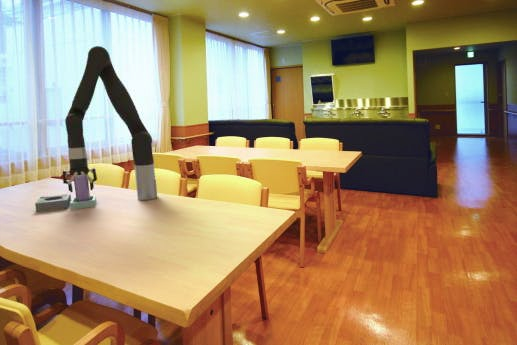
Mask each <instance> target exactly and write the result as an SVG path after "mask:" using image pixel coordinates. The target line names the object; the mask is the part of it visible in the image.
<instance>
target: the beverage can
mask: <svg viewBox="0 0 517 345" xmlns="http://www.w3.org/2000/svg"><path fill="white" fill-rule="evenodd" d="M73 185H74V191H75V192H74V193H75V198H76V201H77V202H79V201H88V200H90V196H91V194H90V193H91V192H90V183H89V180H87V178H86V175H74V180H73Z"/></svg>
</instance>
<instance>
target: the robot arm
mask: <svg viewBox="0 0 517 345" xmlns="http://www.w3.org/2000/svg"><path fill="white" fill-rule="evenodd" d="M112 63H113V62H112V60H111V56H110V52H109V51H108V50H107V49H106V48H105V47H103V46H101V45H96V46H93V47H91V48H90V49H89V51H88V53H87V58H86V64H85V69H84V72H83V74H82V78H81V80H80V82H79V85H78V87H77V89H76V92H75V94H74V97H73V99H72V102H71V106H70V108H69V110H68V113H67V115H66V117H65V120H64V122H65V128H66V129H65V130H66V134H67V147H68V155H67V156H68V162H69V170H66V169H65V170H63V171H62V182H63V184H66V185H67V187H68V191H69V192H70V193H73V191H74V190H73V184H72V182H74V175H86V178H87V180H88V182H89V191H93V190H94V187H95V186H94V182H97V180H98V176H97V170H96V168H95V167H93V168H89V165H88V156H87V155H88V154H87V150H86V144H85V143H86V142H85V137H84V119H85V116H86V113H87V111H88V109H89V108H90V105H91V102H92V100H93V98H94V94H95V90H96V88H97V87H96V86H97V83H98V80H99V78H100V79H101V81H102V83H103V86H104V90H105V92H106V95H107V96H108V100H109V101H110V103H111V105H112V107H113V109H114V111H115V112H116V113H117V114H118V116H119V118H120V119H121V120H122V121H123V123H124V124H125V126H126V127H127V129H128V131H129V133H130V135H131V143H130V144H131V152H132V160H133V163H134V174H135V175H134V176H135V184H136V197H137V200H138V201H149V200H154V199H158V189H157V187H158V186H157V179H156V173H155V170H156V169H155V163H154V162H155V161H154V156H153V155H154V154H153V138H152V135H151V134H150V133H149V131H148V129H147V127H146V126H145V125H144V123H143V121H142V119H141V117H140V115H139V112H138V109H137V107H136V105H135V103H134V100H133V98H132V97H131V95H130V93H129V91H128V89H127V88H126V86H125V85H124V83H123V82H122V80H121V79H120V78H119V76H118V74H117V73H116V70H115V68H114V65H113V64H112ZM89 173H91V174H92V176H93V178H92V177H91V176H90V175H89ZM69 174H70V175H71V177H70V179H69V180H68V178H67V176H68V175H69Z"/></svg>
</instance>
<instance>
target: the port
mask: <svg viewBox="0 0 517 345" xmlns="http://www.w3.org/2000/svg"><path fill="white" fill-rule="evenodd" d="M71 200H72V195H71V193H67V194H58V195H57V194H56V195H46V196H40V197H39V198H38V199H37V200H36V202H35V203H34V205H35V212H36V213H41V212H48V211H57V210H65V209H69V208H70V202H71Z"/></svg>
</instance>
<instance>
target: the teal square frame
mask: <svg viewBox="0 0 517 345" xmlns="http://www.w3.org/2000/svg"><path fill="white" fill-rule="evenodd" d="M96 205H97V195H96V194H95V195H90V200H88V201H79V202H77V201H76V197H71V202H70V206H69V208H70V210H77V209H83V208H84V209H85V208H93V207H94V208H95V207H96Z"/></svg>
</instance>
